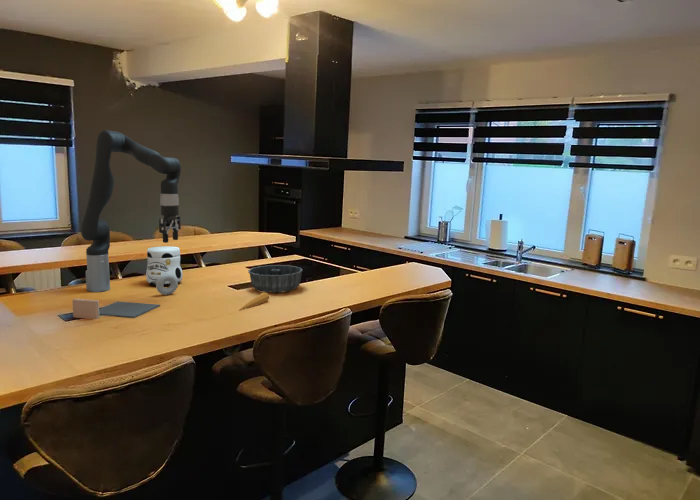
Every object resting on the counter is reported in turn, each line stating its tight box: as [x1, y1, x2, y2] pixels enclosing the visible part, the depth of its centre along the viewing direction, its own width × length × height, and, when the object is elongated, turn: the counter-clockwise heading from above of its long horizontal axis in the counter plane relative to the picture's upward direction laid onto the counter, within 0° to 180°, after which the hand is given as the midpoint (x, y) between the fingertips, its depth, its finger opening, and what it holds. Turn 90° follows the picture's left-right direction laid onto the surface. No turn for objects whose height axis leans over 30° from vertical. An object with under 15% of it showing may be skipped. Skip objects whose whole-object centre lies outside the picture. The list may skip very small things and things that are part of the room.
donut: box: [155, 274, 179, 296], centre depth 232 cm, size 10×4×10 cm, turn 130°
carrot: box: [238, 292, 270, 311], centre depth 218 cm, size 20×4×4 cm, turn 152°
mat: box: [99, 301, 161, 319], centre depth 207 cm, size 20×18×1 cm
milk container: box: [145, 245, 184, 286], centre depth 253 cm, size 17×17×18 cm
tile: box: [71, 298, 101, 320], centre depth 195 cm, size 10×2×7 cm, turn 80°
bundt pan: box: [247, 264, 303, 294], centre depth 247 cm, size 26×26×10 cm
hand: (170, 241), depth 221 cm, fingers open, 8 cm apart
